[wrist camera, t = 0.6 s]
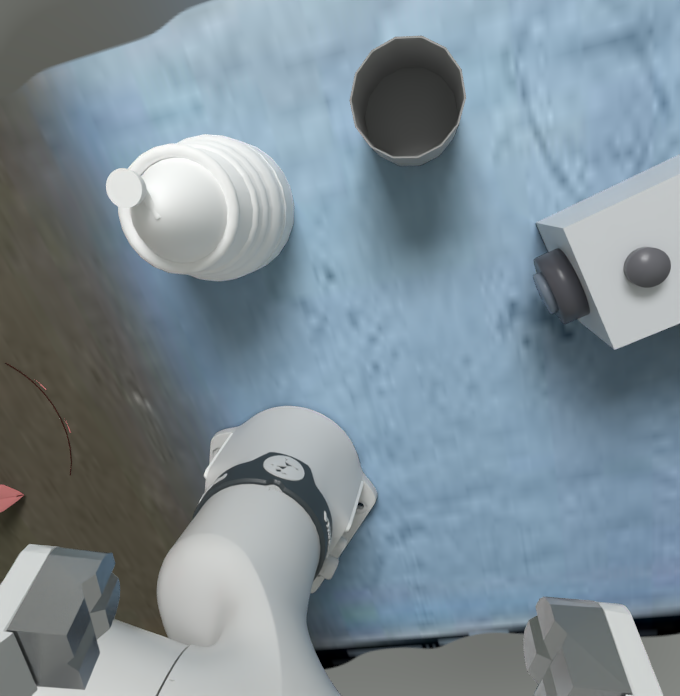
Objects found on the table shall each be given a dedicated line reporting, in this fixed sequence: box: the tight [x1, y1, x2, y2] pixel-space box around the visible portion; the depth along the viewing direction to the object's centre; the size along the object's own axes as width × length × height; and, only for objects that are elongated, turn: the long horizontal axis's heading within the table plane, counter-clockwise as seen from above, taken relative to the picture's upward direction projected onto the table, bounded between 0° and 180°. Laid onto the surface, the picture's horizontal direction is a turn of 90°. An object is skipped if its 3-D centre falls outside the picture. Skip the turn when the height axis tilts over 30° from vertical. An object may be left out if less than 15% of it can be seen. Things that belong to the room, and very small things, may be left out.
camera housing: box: [533, 154, 680, 350], centre depth 45 cm, size 10×19×12 cm, turn 117°
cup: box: [350, 36, 466, 166], centre depth 46 cm, size 8×8×10 cm
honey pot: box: [106, 134, 294, 282], centre depth 47 cm, size 13×13×18 cm
